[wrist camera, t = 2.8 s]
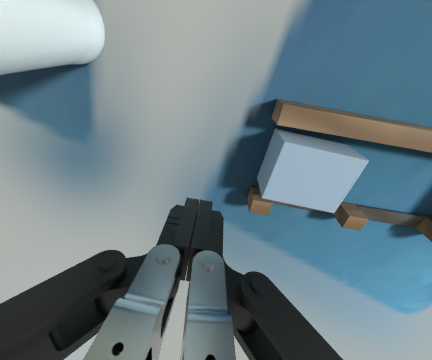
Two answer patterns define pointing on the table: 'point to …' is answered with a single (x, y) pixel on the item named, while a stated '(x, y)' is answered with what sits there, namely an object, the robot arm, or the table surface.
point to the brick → (308, 171)
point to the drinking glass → (49, 34)
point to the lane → (356, 129)
